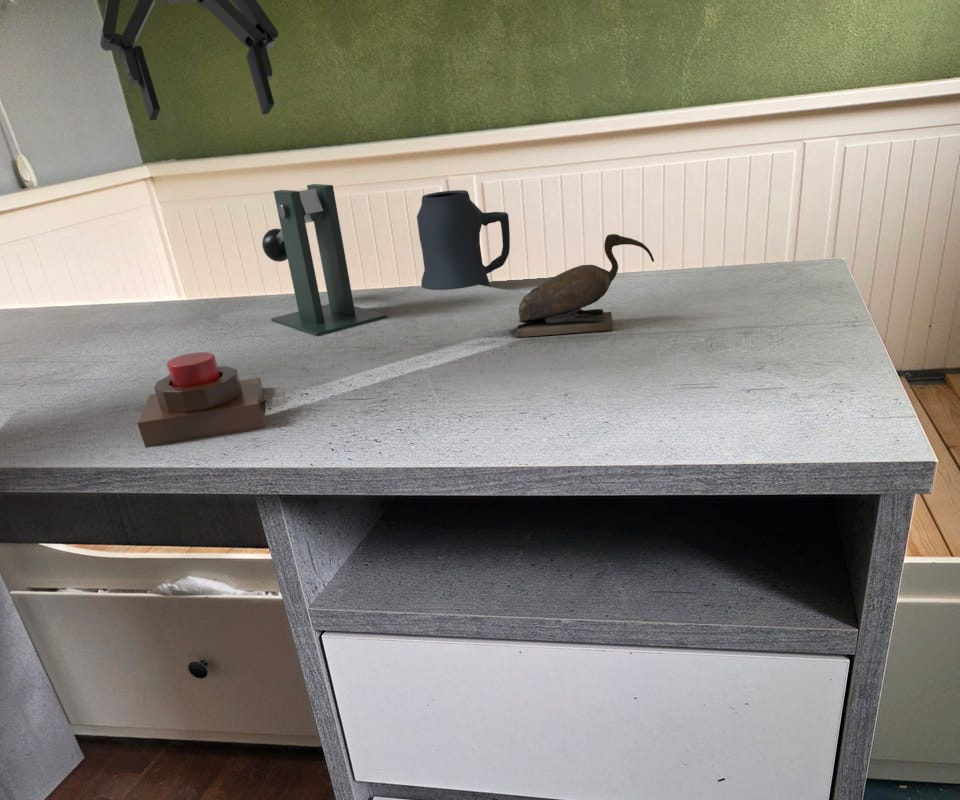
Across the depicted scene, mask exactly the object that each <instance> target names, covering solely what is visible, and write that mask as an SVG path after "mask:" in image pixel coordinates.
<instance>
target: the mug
mask: <svg viewBox="0 0 960 800" xmlns="http://www.w3.org/2000/svg"><path fill="white" fill-rule="evenodd" d="M416 221H417V222H416V223H417V229H418V236H419V243H420V246H421V253H422V261H423V268H424V271H423V274H422V277H421V284H420V286H421V288H422V289H425V290H431V291H448V290H449V291H450V290H457V289H465V288H469V287H474V286H482V287H483V286H485V287H489V288H491V287H492V286H491V283H490V280H489V276H488V274H489V273H492V272H493V271H496V270H498V269H500V268H501V267H503V266H504V265H505V263H506V261H507V259H508V257H509V255H510V250H511V234H510V218H509V214H508V212H505V211H490V212H489V211H488V212H483V211H482V210H481V209H480V208H479V207H478V205H476V204H475V203H474V202H473V201H472V200H471V197H470V194H469V191H468V190H465V189H456V190H455V189H454V190H444V191H443V190H442V191H437V192H431V193H427V194H423V195H422V196H421V205H420V208H419V211H418V213H417V215H416ZM497 222H499V223H500V228H501V237H502V249H501V253H500V255H499V256H497V257H496V258H494V259H493V260H491V262H490V263H489V264H488V265H486V266H485V265H484V264H483V256H482V250H481V231H482V230H481V229H482V226H484V227H486V226H488V225H489V224H493V223H497Z"/></svg>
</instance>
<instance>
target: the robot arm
mask: <svg viewBox="0 0 960 800" xmlns="http://www.w3.org/2000/svg"><path fill="white" fill-rule="evenodd" d="M162 1H163V2H165V5H173V4H178V3H179V4H180V3H181V4H184V5H193V4H194V2H196V3H198V5H199V6H200V7H201V8H202V9H204V10H206V11H209V12H210V13H211V14H212V15H213V16H214V17H215V18H216V19H217V21H219V22H220V23H221V24H222V25H223V26H225V27H226V28H227V30H228V31H229V32H231V33H232V34H233V35H234V36H235V37H236V38H237V39H238V40H239V41H240V42H241V43H242V44H243V45H244V46H245V47H246V48H247V49H248V52H247V54H246V61H247V64H248V68H249V71H250V75H251V78H252V82H253V85H254V90H255V93H256V96H257V100H258V103H259V108H260V111H261V115H269V114H270V112H271V110H272V109H273V108H274V105H275V101H274V96H273V93H272V89H271V85H270V80H271V79H272V77H273V68H272V64H271V61H270V57H269V53H268V50H267V49H272V48H273V47H274V44H275V43H276V41H277V39H278V38H279V31H278V29H277V28H276V26H275V25H274V23H273V22H272V21H271V19H270V17H269V16H268V15H267V13H266V12H265V10H264V9H263V7H261V5H260V4H259V2H258V1H257V0H231V1H232V2H231V1H230V0H162ZM156 2H157V0H138V2H137V4H136V6H135V8H134V10H133V11H132V14H131V15H130V17H129V21H128V22H127V25H126V26H125V29H124V31H123V33H122V34H120V33H117V32H116V28H117V23H118V16H119V11H120V10H119V9H120V4H121V0H106V4H105V9H104V16H103V23H102V27H101V34H100V41H99V45H100V47H101V49H102V50H103V51H105V52H109V51H112V52H116V53H117V56H118V58H119V59H120V60H122V63H123V66H124V69H125V72H126V75H127V80H128V82H129V83H130V85H131V86H132V87H139V89H140V93H141V96H142V99H143V103H144V106H145V110H146V112H147V116H148V119H149V121H157V119H158V117H159V114H160V110H161V108H160V104H159V99H158V97H157V94H156V90H155V88H154V84H153V80H152V76H151V74H150V70H149V67H148V64H147V59H146V57H145V54H144V50H143V46H142V45H135V44H136V42H137V41H138V38H139V37H140V34H141V32H142V30H143V28H144V26H145V24H146V23H147V19H148V18H149V16H150V14H151V12H152V10H153V8H154V6H155V4H156Z"/></svg>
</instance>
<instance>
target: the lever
mask: <svg viewBox="0 0 960 800" xmlns="http://www.w3.org/2000/svg"><path fill="white" fill-rule="evenodd" d="M298 191H299V193H300V198H301V203H302V208H303V213H304V219H305V224H308V223H314V221H316V220H317V218H318V217H319V216H320V215H321V213H322V212H323V208H322V205H321V202H320V199H319V197H318V194H317V191H316V189H315V188H314V189H309V190H308V189H306V190H305V189H304V190H298ZM262 250H263V252H264V254H265V255H266V257H267V258H269V259H270V260H272V261H274V262H277V263H281V262H285V261H286V260H287V261H288V258H287V253H286V249H285V244H284V239H283V234H282V230H281V228H272V229H270V230H268V231H266V232H265V234H264V236H263V238H262Z"/></svg>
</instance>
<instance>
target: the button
mask: <svg viewBox="0 0 960 800" xmlns="http://www.w3.org/2000/svg"><path fill="white" fill-rule="evenodd" d="M217 366H218V364H217V359H216V357H215V354H214V353H212V352H204V351H203V352H192V353H187V354H182V355H178V356H176V357H173V358H171V359H169V360H168V361H167V362H166V367H167V370H168V373H169V374H168V375H170V377H171V380H172V384H173V387H191V386H197V385H203V384H206V383H209V382H213V381H215V380H217V379H219V378H220V374H219V371H218V367H217Z"/></svg>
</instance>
